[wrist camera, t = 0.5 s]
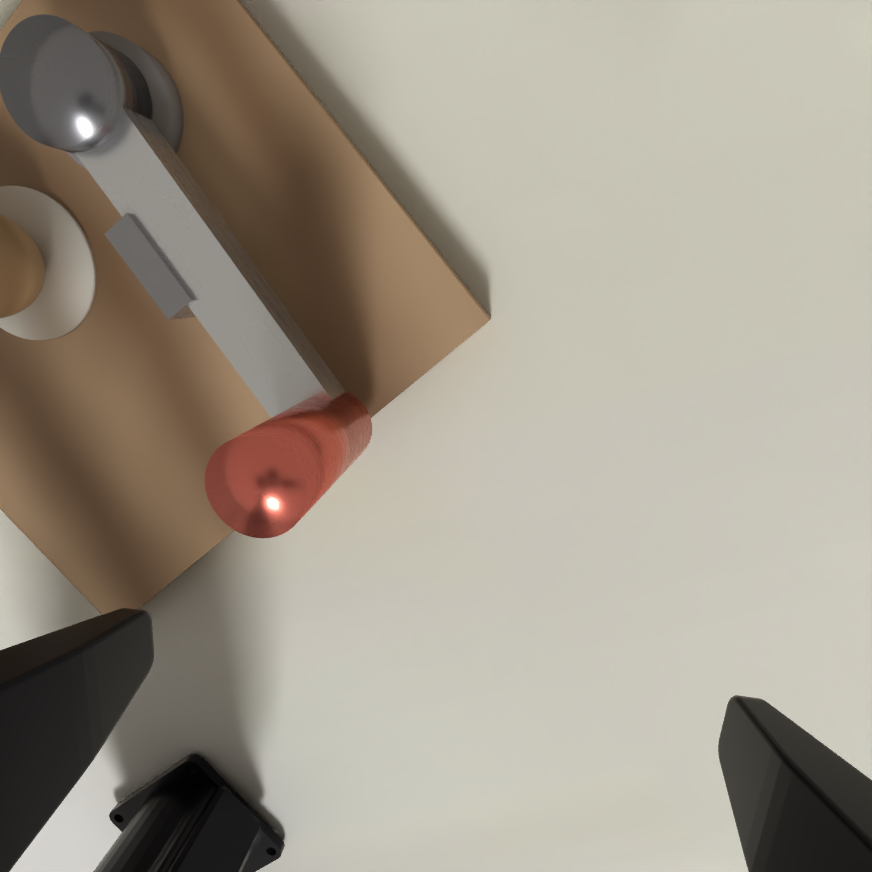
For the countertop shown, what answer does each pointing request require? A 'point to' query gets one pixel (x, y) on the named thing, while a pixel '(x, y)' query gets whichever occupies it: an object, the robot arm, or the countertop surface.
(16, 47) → the lever
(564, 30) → the countertop surface
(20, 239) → the walnut
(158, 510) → the cracker base
